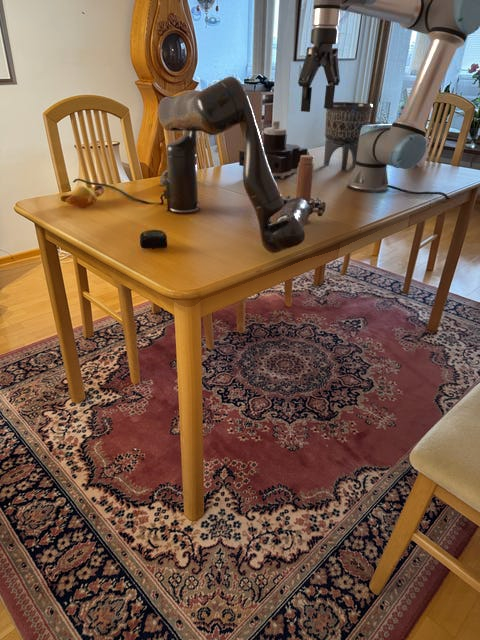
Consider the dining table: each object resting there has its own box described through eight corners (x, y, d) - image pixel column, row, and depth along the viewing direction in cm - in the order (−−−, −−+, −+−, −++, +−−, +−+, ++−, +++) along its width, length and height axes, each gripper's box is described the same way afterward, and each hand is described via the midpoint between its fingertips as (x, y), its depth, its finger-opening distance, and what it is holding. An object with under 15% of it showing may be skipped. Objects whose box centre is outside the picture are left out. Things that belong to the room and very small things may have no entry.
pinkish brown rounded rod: (296, 224, 137) (302, 157, 127) (291, 220, 140) (296, 154, 131) (310, 224, 138) (316, 157, 128) (305, 219, 141) (311, 154, 131)
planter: (313, 167, 208) (319, 103, 195) (331, 160, 222) (338, 101, 209) (353, 173, 199) (362, 107, 185) (369, 166, 213) (379, 104, 199)
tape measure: (140, 252, 115) (139, 238, 113) (141, 242, 120) (140, 229, 119) (167, 251, 116) (166, 237, 114) (167, 241, 121) (166, 228, 120)
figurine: (429, 163, 220) (435, 136, 214) (420, 169, 209) (426, 139, 203) (412, 161, 224) (417, 134, 218) (403, 166, 213) (408, 138, 207)
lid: (305, 203, 157) (306, 196, 156) (317, 206, 154) (318, 199, 153) (296, 206, 154) (296, 199, 153) (308, 209, 151) (308, 202, 150)
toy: (54, 197, 144) (75, 185, 156) (65, 216, 146) (84, 202, 159) (84, 187, 140) (103, 175, 153) (94, 206, 143) (111, 193, 156)
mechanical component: (240, 120, 182) (283, 115, 202) (239, 174, 192) (280, 164, 212) (283, 126, 170) (325, 120, 190) (280, 183, 180) (320, 171, 200)
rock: (185, 178, 183) (185, 162, 179) (198, 183, 177) (198, 166, 174) (157, 184, 175) (156, 166, 172) (169, 189, 170) (168, 171, 166)
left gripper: (322, 204, 119) (328, 189, 133) (269, 199, 123) (280, 185, 136) (319, 231, 123) (325, 214, 137) (268, 226, 126) (279, 210, 140)
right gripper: (334, 30, 139) (326, 106, 149) (289, 25, 122) (284, 111, 133) (357, 30, 135) (347, 108, 145) (313, 24, 118) (305, 114, 129)
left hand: (303, 200), depth 137 cm, fingers open, 8 cm apart
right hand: (317, 110), depth 139 cm, fingers open, 13 cm apart
